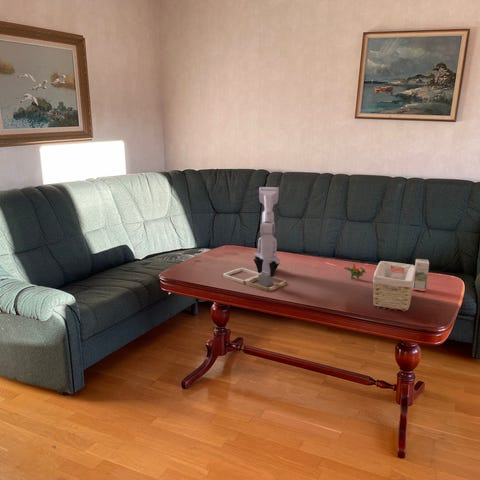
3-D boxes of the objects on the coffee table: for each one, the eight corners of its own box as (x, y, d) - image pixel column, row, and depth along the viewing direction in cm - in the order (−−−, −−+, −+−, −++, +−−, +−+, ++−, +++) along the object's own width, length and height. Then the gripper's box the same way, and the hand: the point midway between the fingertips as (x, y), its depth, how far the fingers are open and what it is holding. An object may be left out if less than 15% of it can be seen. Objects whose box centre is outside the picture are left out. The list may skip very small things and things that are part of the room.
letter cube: (264, 281, 225) (265, 272, 223) (272, 284, 222) (273, 274, 220) (258, 284, 221) (258, 274, 220) (266, 286, 218) (266, 276, 217)
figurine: (363, 282, 226) (365, 266, 224) (341, 277, 233) (342, 262, 231) (366, 280, 228) (367, 265, 226) (343, 275, 235) (344, 260, 233)
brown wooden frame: (263, 276, 231) (263, 274, 231) (286, 283, 222) (287, 281, 222) (244, 284, 221) (244, 281, 220) (268, 291, 211) (268, 288, 211)
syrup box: (425, 288, 219) (428, 259, 215) (425, 292, 214) (429, 263, 210) (412, 286, 221) (415, 258, 217) (412, 290, 215) (416, 261, 212)
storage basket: (409, 314, 189) (413, 281, 186) (369, 307, 196) (372, 275, 192) (413, 295, 211) (416, 264, 207) (376, 289, 217) (379, 259, 213)
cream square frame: (241, 270, 241) (241, 267, 240) (262, 276, 232) (262, 273, 231) (221, 277, 230) (222, 274, 230) (243, 284, 221) (243, 281, 221)
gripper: (249, 246, 218) (249, 273, 222) (274, 252, 209) (273, 280, 213) (259, 243, 223) (258, 269, 227) (283, 249, 214) (282, 276, 218)
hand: (266, 274), depth 220 cm, fingers open, 7 cm apart
